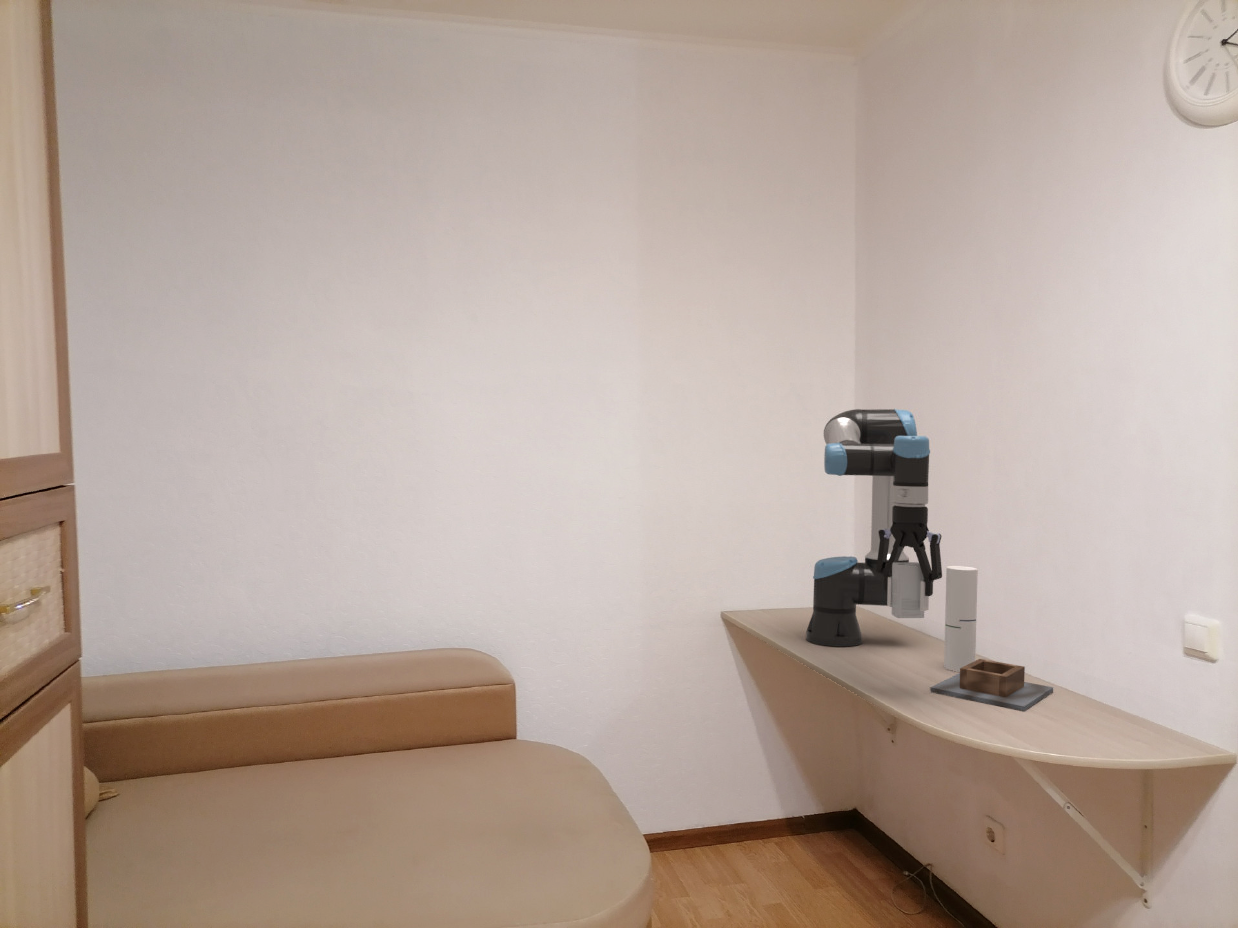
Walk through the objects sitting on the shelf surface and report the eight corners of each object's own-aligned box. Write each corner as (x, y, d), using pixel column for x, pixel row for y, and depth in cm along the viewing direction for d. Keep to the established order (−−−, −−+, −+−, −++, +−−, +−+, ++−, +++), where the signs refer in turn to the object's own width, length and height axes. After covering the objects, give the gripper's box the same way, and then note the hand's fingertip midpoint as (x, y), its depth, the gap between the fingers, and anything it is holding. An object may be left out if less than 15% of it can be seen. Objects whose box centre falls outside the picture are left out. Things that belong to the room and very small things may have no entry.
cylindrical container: (977, 673, 213) (980, 570, 213) (946, 671, 215) (949, 569, 214) (972, 665, 220) (974, 566, 220) (941, 664, 222) (944, 565, 221)
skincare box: (916, 614, 199) (917, 561, 199) (925, 618, 194) (926, 564, 194) (889, 614, 198) (891, 561, 198) (898, 619, 194) (899, 564, 193)
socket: (930, 691, 197) (930, 667, 197) (964, 674, 212) (964, 652, 212) (1024, 711, 184) (1024, 684, 184) (1053, 691, 199) (1053, 667, 198)
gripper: (860, 503, 199) (858, 603, 200) (947, 508, 186) (945, 616, 187) (875, 501, 205) (873, 599, 206) (961, 507, 192) (958, 611, 192)
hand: (907, 607), depth 196 cm, fingers closed on skincare box, 7 cm apart
